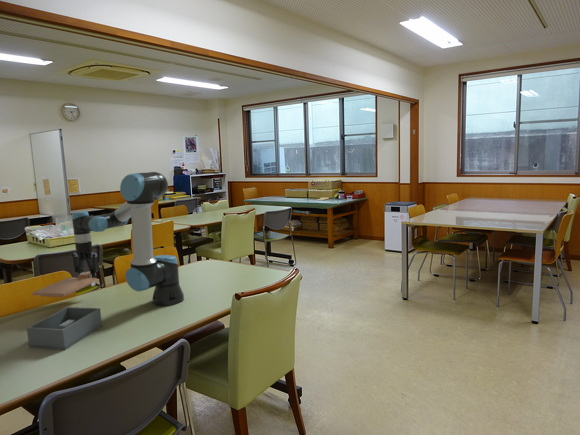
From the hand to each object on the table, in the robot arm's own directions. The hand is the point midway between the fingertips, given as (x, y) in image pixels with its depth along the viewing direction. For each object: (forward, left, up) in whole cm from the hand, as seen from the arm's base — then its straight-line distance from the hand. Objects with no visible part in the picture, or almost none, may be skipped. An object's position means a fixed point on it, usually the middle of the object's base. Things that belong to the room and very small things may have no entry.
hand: (88, 285), depth 214 cm
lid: (0, +12, +3) cm, 12 cm away
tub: (-22, +43, -7) cm, 49 cm away
